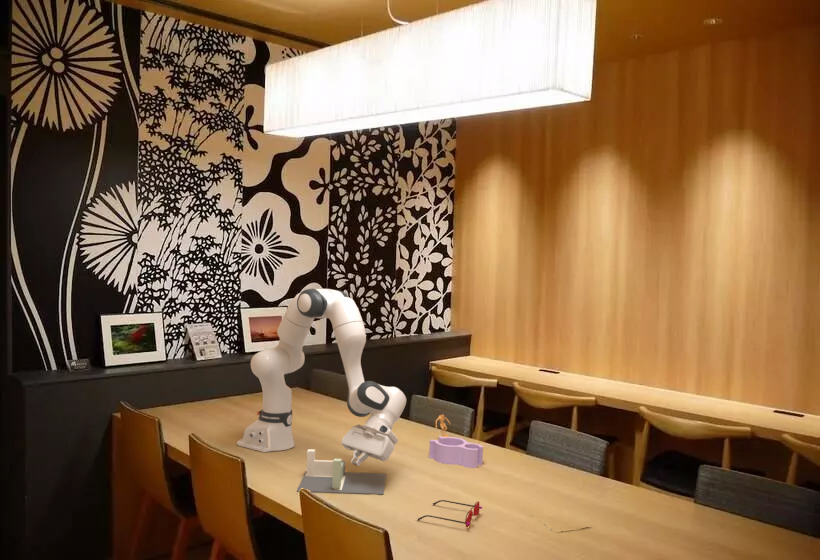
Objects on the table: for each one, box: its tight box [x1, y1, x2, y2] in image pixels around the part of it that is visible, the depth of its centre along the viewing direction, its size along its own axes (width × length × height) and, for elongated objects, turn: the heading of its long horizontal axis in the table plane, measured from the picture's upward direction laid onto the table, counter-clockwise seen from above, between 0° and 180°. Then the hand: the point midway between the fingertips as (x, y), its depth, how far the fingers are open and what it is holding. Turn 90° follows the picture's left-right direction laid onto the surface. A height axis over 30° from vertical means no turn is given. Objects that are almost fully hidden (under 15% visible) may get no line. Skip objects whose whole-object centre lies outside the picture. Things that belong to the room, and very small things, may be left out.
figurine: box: [435, 414, 451, 437], centre depth 275 cm, size 8×6×12 cm
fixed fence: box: [306, 448, 333, 477], centre depth 231 cm, size 11×2×9 cm, turn 90°
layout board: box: [296, 470, 387, 496], centre depth 226 cm, size 28×19×1 cm
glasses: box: [417, 499, 483, 528], centre depth 201 cm, size 14×16×5 cm
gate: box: [332, 458, 346, 488], centre depth 225 cm, size 14×2×9 cm, turn 178°
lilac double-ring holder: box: [428, 435, 484, 469], centre depth 254 cm, size 20×12×7 cm, turn 56°
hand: (354, 464), depth 224 cm, fingers closed
